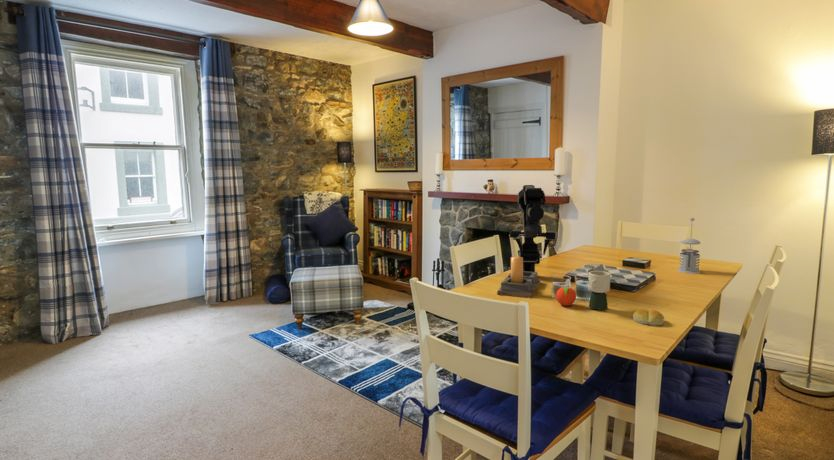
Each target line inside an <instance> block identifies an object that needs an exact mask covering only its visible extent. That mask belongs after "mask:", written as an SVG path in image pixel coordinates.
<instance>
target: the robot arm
mask: <svg viewBox="0 0 834 460" xmlns="http://www.w3.org/2000/svg"><path fill="white" fill-rule="evenodd" d="M546 200H547V199H546V193H545V192H544V190H543V189H542V188H541V187H535V185H533V184H524V185H523V186H522V189H521V190H520V191H518V193H517V205H518V206H519V207H518V209H519V211H521V213H522V221H523V225H522V226H523V231H522V229H512V230H511V231H510V232H509V238H512V240H515V242H516V243H517V245H518V249H519V252H518V254H519V255H518V257H523V271H528V272H536V265H539V264H540V263H541V262H540V260H541V253H540V250H538V249H539V248H538V244H537V243H536V242H535V241H534V239H536V238H537V237H538V238H545V239H544V244H543V251H542V252H543V253H542V255H543V256H545V255H546V251H547V249H548V246H549V245H550V243H551V242H553V241H554V240H556V239H557V237H558V233H557V231H556V230H546V231H545V232H543V227H542V226H541V220H542V219H543V218H544V214H545V211H544V209H543V208H542V207H541V206H542V205H543V206H544V205H545V204H546Z"/></svg>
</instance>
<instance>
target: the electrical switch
mask: <svg viewBox="0 0 834 460" xmlns="http://www.w3.org/2000/svg"><path fill="white" fill-rule="evenodd" d="M590 271H605V267H604V265H603V264H602V263H601V264H598V265H596V266H593V267H592V268H590V269H588V270H587V273H588V275H589V272H590Z"/></svg>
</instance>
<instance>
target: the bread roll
mask: <svg viewBox="0 0 834 460" xmlns="http://www.w3.org/2000/svg"><path fill="white" fill-rule="evenodd" d="M632 320H634V321H635V322H636V323H637V324H641V325H646V326H648V325H649V326H653V327H655V326H656V327H657V326H662V325H663V324H664V321H665V316H664V315H663V314H662V313H661V312H660V311H658V310H655V309H653V310H649V311H648V310H647V309H645V308H644V309H643V308H642V309H641V308H640V309H637V310H635V311H634V312H633V314H632Z"/></svg>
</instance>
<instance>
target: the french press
mask: <svg viewBox="0 0 834 460" xmlns="http://www.w3.org/2000/svg"><path fill="white" fill-rule="evenodd" d="M689 221H691V222H693V221H695V218H694V217H690V218H689ZM690 228H691V229H690V236H692V233H693V232H692V231H693V224H691V227H690ZM680 243H681V244H682V245H683V244H685V245H689V246H690V247H687V249H686V248H685V249H683V248H682V249H681V252H680V253H679V256H680V257H679V267H678V268H677V269H676V271H677V272H679V273H683V274H692V275H693V274H695V275H696V274H701V273H702V272H701V270H700V267H699V266H700V259H701V258H700V257H701V255H700V253H699V252H700V251H699V250H698V249H697V250H696V249H694V248H693V247H694V246H693V245H701V244H702V242H701V241H700V240H698V239H695V238H692V237H690V238H685V239H682V240H680Z"/></svg>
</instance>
